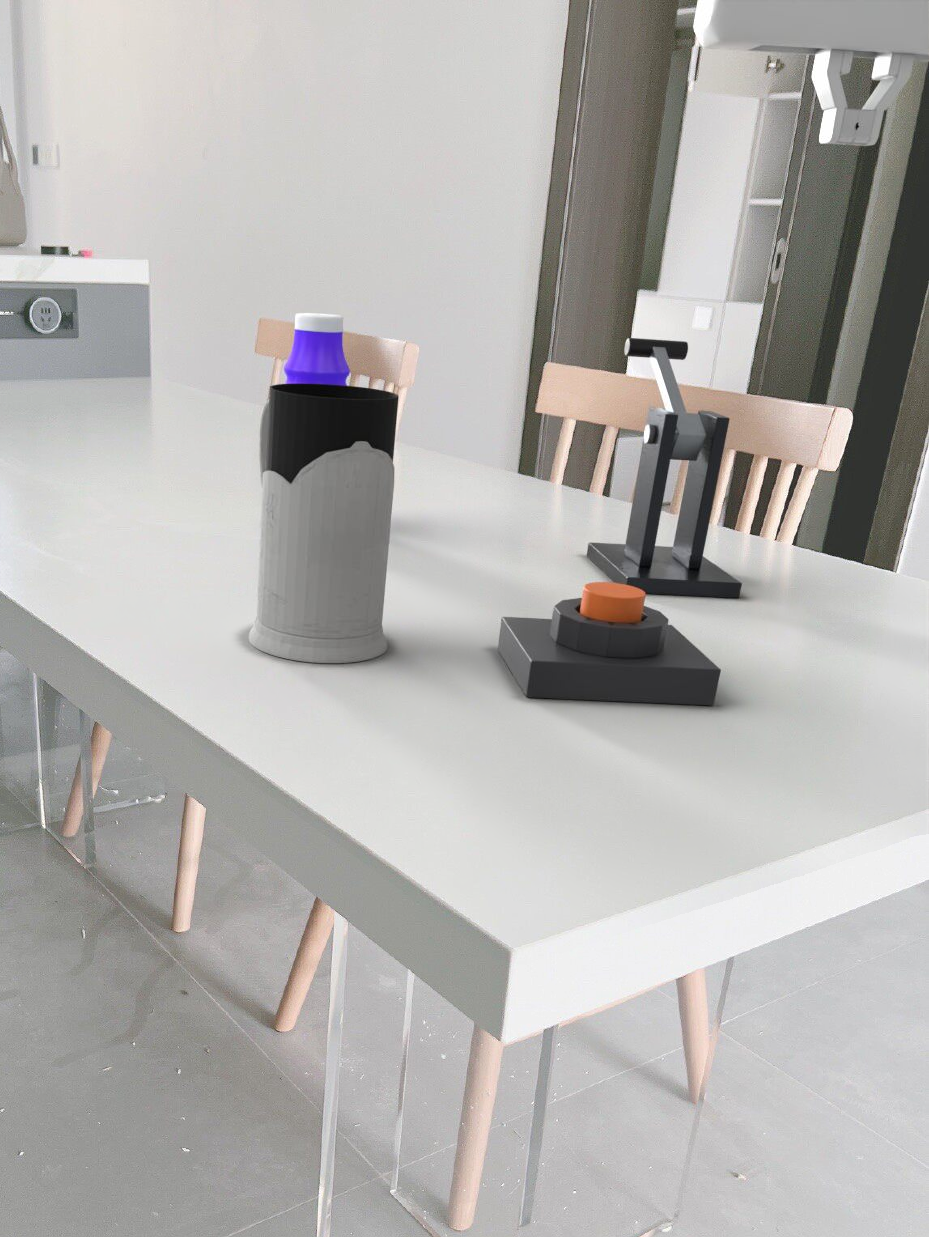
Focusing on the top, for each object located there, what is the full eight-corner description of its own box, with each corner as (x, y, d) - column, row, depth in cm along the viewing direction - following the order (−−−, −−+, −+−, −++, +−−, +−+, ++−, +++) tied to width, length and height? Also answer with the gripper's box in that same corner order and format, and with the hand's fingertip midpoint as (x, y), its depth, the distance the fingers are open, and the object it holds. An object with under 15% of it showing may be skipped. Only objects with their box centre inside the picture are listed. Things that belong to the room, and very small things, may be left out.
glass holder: (283, 668, 71) (297, 399, 65) (197, 603, 83) (202, 370, 76) (412, 656, 75) (437, 401, 69) (313, 596, 86) (327, 373, 80)
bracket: (586, 556, 104) (610, 399, 99) (688, 561, 105) (718, 406, 99) (625, 592, 93) (654, 419, 88) (739, 598, 94) (775, 426, 89)
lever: (621, 354, 103) (629, 328, 101) (679, 358, 103) (688, 332, 101) (651, 458, 94) (660, 432, 92) (714, 462, 95) (724, 436, 93)
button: (631, 611, 74) (635, 583, 73) (648, 628, 71) (653, 599, 70) (572, 608, 74) (577, 580, 73) (587, 625, 70) (592, 596, 70)
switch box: (665, 657, 78) (677, 596, 77) (713, 706, 70) (728, 638, 68) (497, 649, 77) (505, 588, 76) (525, 697, 69) (535, 629, 68)
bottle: (314, 533, 105) (327, 317, 98) (259, 522, 108) (268, 311, 101) (356, 521, 111) (371, 316, 104) (303, 511, 114) (314, 311, 107)
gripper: (742, -170, 64) (696, 131, 70) (1112, -143, 65) (1037, 149, 71) (701, -137, 70) (662, 138, 75) (1042, -113, 71) (978, 155, 77)
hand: (847, 144), depth 73 cm, fingers closed
